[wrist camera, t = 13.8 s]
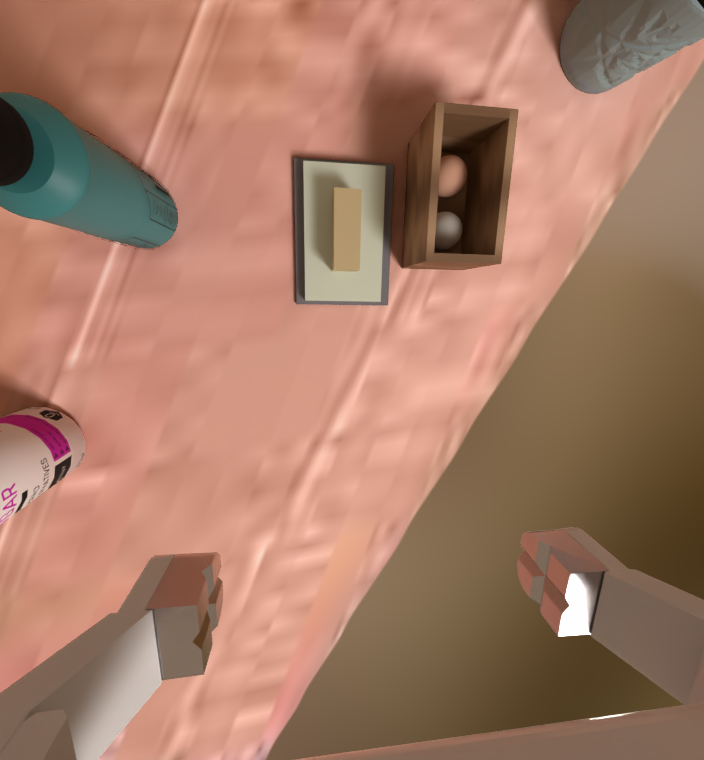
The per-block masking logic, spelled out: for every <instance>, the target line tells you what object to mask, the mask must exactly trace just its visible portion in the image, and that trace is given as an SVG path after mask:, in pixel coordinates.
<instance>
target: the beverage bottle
mask: <svg viewBox="0 0 704 760" xmlns="http://www.w3.org/2000/svg"><path fill="white" fill-rule="evenodd" d="M91 135H92V134H88V133H87V132H85V131H84V130H83V129H81V128H80V127H78V126H77V125H76V124H74V123H73V122H71V121H70V120H69V119H67V118H66V117H65V116H64V115H63V114H62V113H61V112H59V111H58V110H57V109H55V108H54V107H52V106H51V105H49V104H48V103H46V102H44V101H42V100H40V99H38V98H35V97H32V96H29V95H25V94H21V93H13V92H6V93H0V206H1V207H3V208H4V209H6V210H8V211H10V212H12V213H14V214H17V215H19V216H23V217H26V218H30V219H36V220H41V221H45V222H49V223H52V224H56V225H59V226H63V227H67V228H70V229H74V230H78V231H81V232H84V233H87V235H88V234H90V235H93V236H97V237H101V238H105V239H109V240H111V241H113V243H114V241H116V242H120V243H121V245H122V243H123V245H124V244H128V245H132V246H136V247H140V248H149V249H150V248H154V247H157V248H158V246H159V247H160V245H162V244H164V243H165V242H167V241H168V240H169V239H170V238H171V237H172V236H173V234H174V232H175V230H176V227H177V223H178V219H177V214H178V212H177V209H176V208H177V207H175V204H174V201H173V199H172V197H171V196H170V194H171V193H168V192H167V191H168V189H167V190H166V189H165V188H164V187H163V186H161V185H160V184H159V183H157V182H156V181H155V180H153V179H152V177H151V175H150V174H149V175H150V176H149V175H146V174H145V173H147V172H143V171H142V170H140V169H138V168H137V167H135V166H134V165H133V164H131V163H130V162H128V161H127V160H126V159H124V158H123V156H120V155H119V153H118V154H117V153H116V152H115V151H114V150H112V149H110V147H108V146H106V145H105V144H103V143H102V142H100V141H99V140H97V139H96V138H94V137H93V136H91ZM94 136H95V135H94ZM107 144H108V143H107ZM115 150H116V149H115ZM124 157H125V156H124ZM128 160H129V159H128ZM153 178H154V177H153ZM157 181H158V180H157ZM158 182H159V181H158ZM76 232H77V231H76ZM78 233H79V232H78ZM101 240H102V239H101ZM105 241H106V240H105ZM109 242H110V241H109ZM116 242H115V243H116ZM117 244H118V243H117ZM125 246H126V245H125ZM129 247H131V246H129ZM149 249H148V250H149ZM154 249H155V248H154ZM142 250H143V249H142Z"/></svg>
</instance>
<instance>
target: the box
mask: <svg viewBox="0 0 704 760" xmlns="http://www.w3.org/2000/svg"><path fill="white" fill-rule="evenodd" d="M517 118H518V109H508V108H497V107H486V106H475V105H464V104H453V103H442V102H436V103H435V104H434V106H433V107H432V109H431V110H430V112H429V114H428V115H427V117H426V118H425V120H424V121H423V123H422V124H421V126H420V127H419V129H418V130H417V132H416V133H415V135H414V136H413V138H412V139H411V141H410V143H409V144H408V157H407V178H406V198H405V218H404V238H403V258H402V268H411V269H445V270H466V269H472V268H478V267H484V266H490V265H495V264H501V259H502V251H503V242H504V233H505V224H506V215H507V206H508V198H509V189H510V180H511V171H512V162H513V153H514V145H515V136H516V127H517ZM446 155H455V156H458V157H459V158H461V159H462V160H463V161H464V163H465V165H466V168H467V178H466V182H465V184H464V186H463V188H462V189H461V190H460V191H459V192H458V193H457V194H455V195H453V196H451V197H440V196H438V190H439V175H440V161H441V157H443V156H446ZM440 212H451V213H454V214H455V215H456V216H458V218H459V219H460V221H461V223H462V235H461V237H460V239H459V241H458V242H457V243H456V245H454V246H453V247H452V248H450V249H447V250H438V249H435V248H434V247H435V233H436V219H437V214H438V213H440Z"/></svg>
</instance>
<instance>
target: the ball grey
mask: <svg viewBox="0 0 704 760" xmlns="http://www.w3.org/2000/svg"><path fill="white" fill-rule="evenodd" d="M461 235H462V223H461V221H460V219H459V218H458V216H456V215H455V214H454V213H451V212H440V213H438V214H437V219H436V233H435V247H434V248H435V249H438V250H447V249H450V248H452V247H453V246H454V245H456V243H457V242H458V241H459V239H460V237H461Z"/></svg>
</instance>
